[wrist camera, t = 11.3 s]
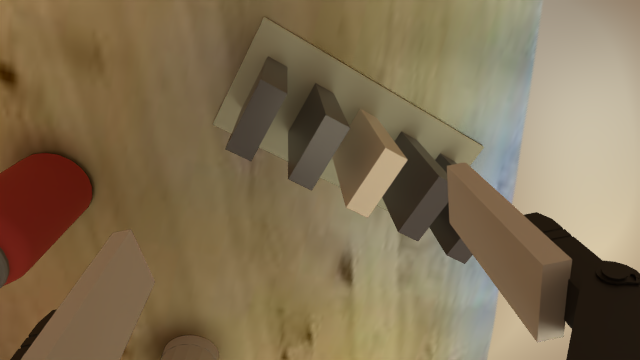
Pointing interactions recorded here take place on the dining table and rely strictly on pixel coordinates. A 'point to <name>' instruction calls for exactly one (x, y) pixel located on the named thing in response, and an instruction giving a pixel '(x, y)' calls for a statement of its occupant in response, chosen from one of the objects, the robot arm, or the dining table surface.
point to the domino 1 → (259, 109)
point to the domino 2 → (315, 136)
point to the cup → (190, 349)
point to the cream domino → (366, 163)
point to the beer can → (37, 209)
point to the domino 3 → (416, 190)
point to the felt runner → (349, 91)
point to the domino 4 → (449, 226)
